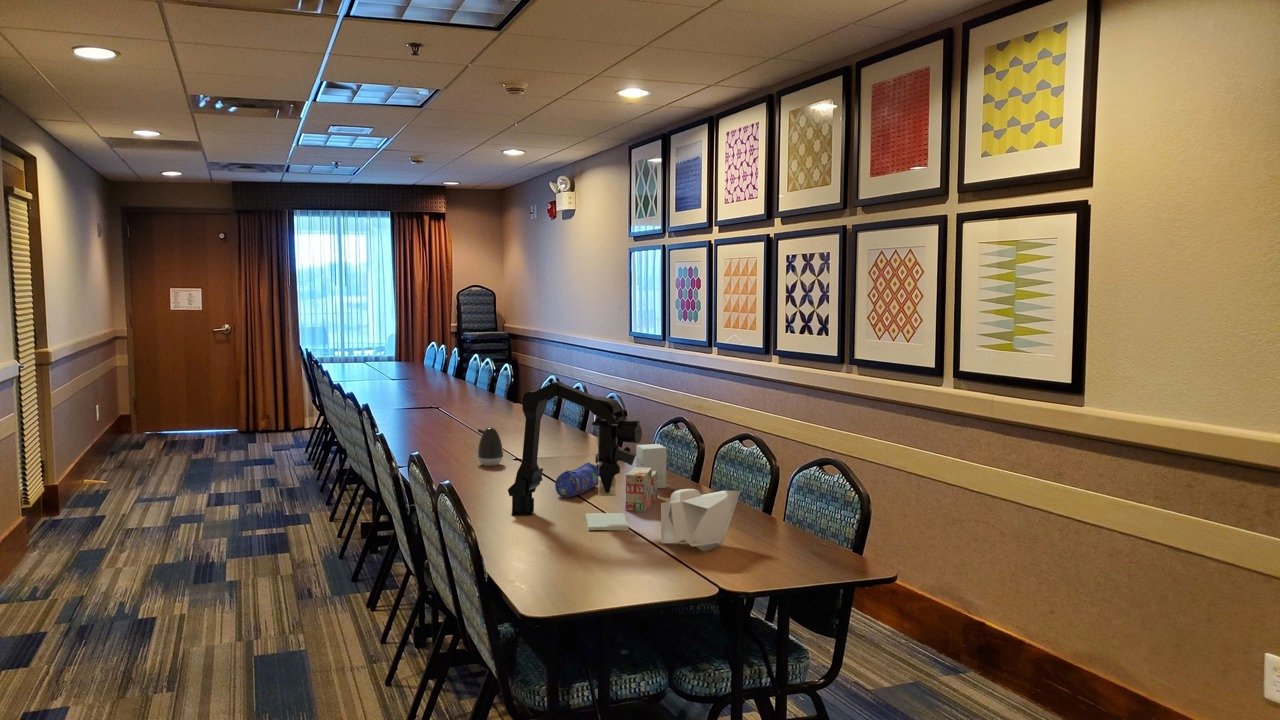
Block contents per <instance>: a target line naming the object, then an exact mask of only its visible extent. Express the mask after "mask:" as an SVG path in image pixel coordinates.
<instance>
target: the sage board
mask: <svg viewBox="0 0 1280 720" xmlns="http://www.w3.org/2000/svg"><path fill="white" fill-rule="evenodd" d="M585 520H587V521H586V526H587V525H588V526H587V530H620V531H629V524H628V521H627V519H626V516H625V513H624V512H613V513H612V512H608V513H606V512H602V513H601V512H600V513H597V512H596V513H592V512H591V513H585Z"/></svg>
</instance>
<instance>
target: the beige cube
mask: <svg viewBox="0 0 1280 720" xmlns="http://www.w3.org/2000/svg"><path fill="white" fill-rule="evenodd" d="M616 481H617V480H616V475H615V476H614V477H613V480H612V484H611V488H610V492H609V493H606V492H605V489H604V486H603V484H602V481H601V478H600V476H598V485H597V487H598V488H597V493H598V496H599V497H616V491H617V490H616V489H617V486H616V485H617V482H616Z"/></svg>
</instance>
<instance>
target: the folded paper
mask: <svg viewBox="0 0 1280 720" xmlns="http://www.w3.org/2000/svg"><path fill="white" fill-rule="evenodd" d="M741 492H742V491H741V490H721V491H715V492H710V493H706V494H702V493H701V492H700V491H699V490H698V489H696V488H684V489H683V488H681V489H679V490H674V491H673V492H672V493H671V495H670V499H669V500H670V501H667V502H660V533H661V534H660V536H661V537H660V538H661V542H660V543H661V544H676V543H677V544H679V543H688V545H689V546H691V547H696V548H697V549H699V550H701V551H702V552H704V553H706V552H709V551H711V550H713V548H714V549H716V548H718V547H721V546H722V545H723V542H724V539H725V537H726V534H727V532H728V529H729V526H730V524H731V520H732V519H733V515H734V513H735V510H736V507H737V503H738V501H739V497H740V496H741V495H740V494H741ZM708 550H709V551H708ZM705 551H706V552H705Z"/></svg>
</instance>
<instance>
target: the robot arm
mask: <svg viewBox="0 0 1280 720" xmlns="http://www.w3.org/2000/svg"><path fill="white" fill-rule="evenodd" d="M555 397H559V398H561V399H563V400H566V401H568V402H571V403H573V404H576V405H578V406H581V407H584V408H585V409H587V410H589V411H590V412H591V413H592V414H593V416H596V418H595V420H594V421H592V423H591V425H592V426H598V429H597V430H598V437H597V438H598V440H597V441H598V442H597V454H596V455H595V456H594V457H595V458H594V459H595V461H594V462H595V464H596V466H597V469H598V472H599V475H600V478H601V481H602V484H603V486H604V489H605V492H606V493H609V492H610V488H611V484H612V480H613V477H614V476H615V477H616V475H618V474H620V472H621V466H620V464H618V463H619V461H621V462H623V463H626V464H627V465H629V466H633V465H634V464H633V463H634V462H635V460H636V454H635V453H634V452H633V451H631V447H629V446H627V445H626V446H624V447H623V448H622V447H621V448H619V444H618V440H619V442H621V443H632V444H640V443H641V441H642V437H643V430H642V426H641V424H640V420H638V419H637V420H635V419H634V420H631V419H627V417H626V416H625V414H624V413H623V411H622V409H621V405H620V404H619V401H618V400H616V399H615V398H609V397H606V396H597V395H593V394H590V393H588V392H585V391H583V390H580V389H577V388H575V387H572V386H570V385H568V384H565V383H563V382H562V381H559V380H558V381H554V382H553V381H552V382H551V383H549V384H548V385H546V386H544V387H542V388H539V389H536V390H530V391H527V392H525V393H524V394H523V395H522V397H521V406H522V413H523V415H524V417H525V423H524V424H525V425H524V437H523V446H522V458H521V463H520V466H519V467H518V470H517V472H516V475H515V476H516V477H515V479H514V483H513V484H512V485H511V486H510V487H509V488H508V489H507V492H508V497H511V501H512V503H511V516H532V515H533V512H535V497H533V493H535V492H536V490H537V487H538V486H540V484H541V482H542V481H543V472H544V469H543V468H540V467H539V464H538V457H539V455H538V453H539V444H540V434H541V433H540V432H541V422H542V417H543V415H544V414H545V412H546V409H547V405H548V401H550V400H552V399H554V398H555Z"/></svg>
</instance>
